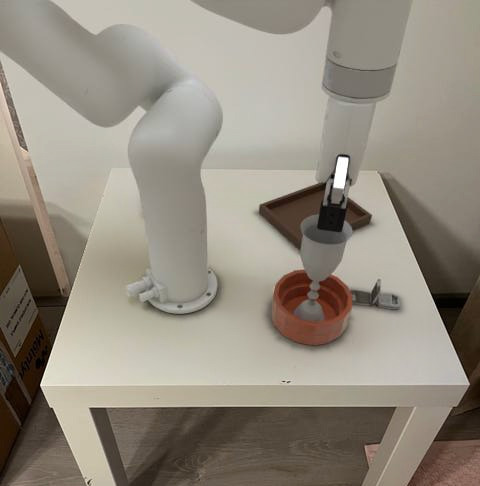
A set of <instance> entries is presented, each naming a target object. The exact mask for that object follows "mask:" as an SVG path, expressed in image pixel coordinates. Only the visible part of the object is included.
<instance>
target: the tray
mask: <svg viewBox="0 0 480 486" xmlns="http://www.w3.org/2000/svg"><path fill="white" fill-rule="evenodd" d="M325 190H326V187H324V183H323V182H320V183H318V182H317V183H315V184H312V185H309V186H307V187H304V188H302V189H299V190H295V191H293V192H290V193H287V194H284V195H282V196H279V197H276V198H273V199H271V200H268V201H265V202H263V203H259V207H258V214H259V215H260V216H261V217H263V218H264V220H266V221H267V222H268V223H269V224H270V225H272V226H273V227H274V228H275V229H276V230H277V231H278V232H279V233H280V235H282V236H283V237H285V239H286V240H288V241H289V242H290V243H291V244H292V245H293V246H294V247H295V248H296V249H298V251H300V250H301V244H302V237H303V233H302V231H301V227H300V226H301V223H302V221H303V220H304V219H305V218H307V217H310V216H312V215H318V214H319V213H320V207H321V201H324V196H325ZM330 192H331V193H332V189H331V188H330ZM330 192H329V194H330ZM347 204H348V207H347V211H346V216H345V221H346V222H348V224H349V225H350V226H351V228H352V230H353V231H356V230H358V229H360V228H363V227H365V226H368V225H370V224H371V221H372V217H373V215H372V213H370V212H369V211H368V210H367V209H365V208H363V207H362V206H361V205H359V204H358V203H357V202H355V200H353V199H351V198H350V197H349V196H348V198H347Z"/></svg>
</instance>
